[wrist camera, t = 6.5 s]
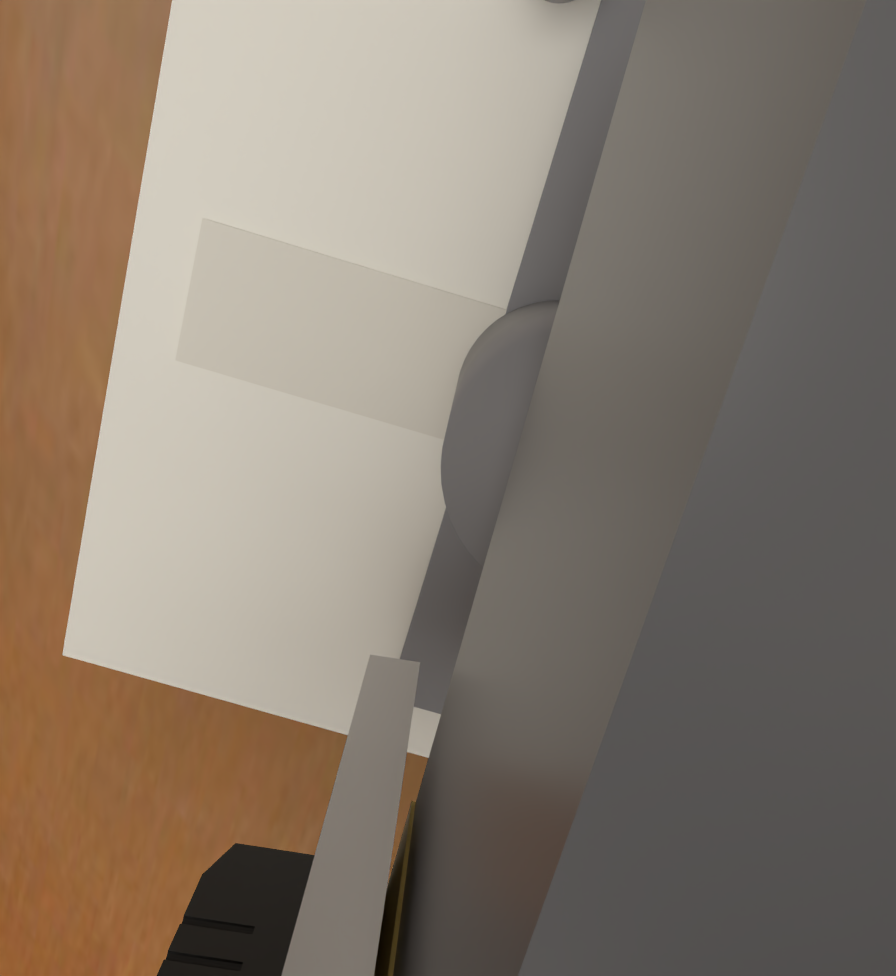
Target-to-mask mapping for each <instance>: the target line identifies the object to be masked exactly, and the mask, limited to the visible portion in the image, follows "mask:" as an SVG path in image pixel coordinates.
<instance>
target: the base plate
mask: <svg viewBox="0 0 896 976" xmlns="http://www.w3.org/2000/svg"><path fill="white" fill-rule="evenodd" d="M645 2H646V0H172V5H171V11H170V17H169V23H168V29H167V35H166V41H165V47H164V53H163V59H162V65H161V70H160V76H159V82H158V88H157V94H156V100H155V106H154V112H153V118H152V124H151V130H150V136H149V142H148V148H147V154H146V160H145V166H144V172H143V178H142V184H141V190H140V196H139V202H138V208H137V213H136V219H135V225H134V231H133V237H132V243H131V249H130V255H129V261H128V267H127V273H126V279H125V285H124V291H123V297H122V303H121V309H120V315H119V321H118V327H117V333H116V339H115V345H114V350H113V356H112V362H111V368H110V374H109V380H108V386H107V392H106V398H105V404H104V410H103V416H102V422H101V428H100V434H99V440H98V446H97V452H96V458H95V464H94V470H93V476H92V482H91V487H90V493H89V499H88V505H87V511H86V517H85V523H84V529H83V535H82V541H81V547H80V553H79V559H78V565H77V571H76V577H75V583H74V589H73V595H72V601H71V607H70V613H69V619H68V625H67V630H66V636H65V642H64V648H63V654H62V655H64V656H68V657H71V658H75V659H78V660H82V661H85V662H89V663H93V664H96V665H100V666H103V667H107V668H110V669H114V670H117V671H121V672H125V673H128V674H132V675H135V676H139V677H142V678H146V679H149V680H153V681H157V682H160V683H164V684H167V685H171V686H174V687H178V688H182V689H185V690H189V691H192V692H196V693H199V694H203V695H206V696H210V697H214V698H217V699H221V700H224V701H228V702H231V703H235V704H238V705H242V706H246V707H249V708H253V709H256V710H260V711H263V712H267V713H270V714H274V715H278V716H281V717H285V718H288V719H292V720H295V721H299V722H303V723H306V724H310V725H313V726H317V727H320V728H324V729H327V730H331V731H335V732H338V733H342V734H345V735H348V733H349V729H350V726H351V722H352V718H353V715H354V711H355V708H356V704H357V700H358V697H359V693H360V689H361V686H362V682H363V679H364V675H365V671H366V668H367V664H368V661H369V657H370V655H377V656H383V657H390V658H396V659H402V660H409V661H415V662H420V667H419V673H418V680H417V687H416V694H415V701H414V707H413V714H412V721H411V728H410V734H409V741H408V748H407V752H409V753H413V754H416V755H420V756H424V757H427V758H429V755H430V751H431V748H432V744H433V741H434V737H435V734H436V730H437V727H438V724H439V720H440V717H441V713H442V710H443V706H444V703H445V699H446V696H447V692H448V689H449V685H450V682H451V678H452V675H453V671H454V668H455V664H456V661H457V657H458V654H459V650H460V647H461V643H462V640H463V636H464V633H465V629H466V626H467V622H468V619H469V615H470V612H471V608H472V605H473V601H474V598H475V594H476V591H477V587H478V584H479V581H480V577H481V574H482V570H483V567H484V563H485V560H486V556H487V553H488V549H489V546H490V542H491V539H492V535H493V532H494V528H495V525H496V521H497V518H498V514H499V511H500V507H501V504H502V500H503V497H504V493H505V490H506V486H507V483H508V479H509V476H510V472H511V469H512V465H513V462H514V458H515V455H516V451H517V448H518V444H519V441H520V438H521V434H522V431H523V427H524V424H525V420H526V417H527V413H528V410H529V406H530V403H531V399H532V396H533V392H534V389H535V385H536V382H537V378H538V375H539V371H540V368H541V364H542V361H543V357H544V354H545V350H546V347H547V343H548V340H549V336H550V333H551V329H552V326H553V322H554V319H555V315H556V312H557V308H558V305H559V302H560V298H561V295H562V291H563V288H564V284H565V281H566V277H567V274H568V270H569V267H570V263H571V260H572V256H573V253H574V249H575V246H576V242H577V239H578V235H579V232H580V228H581V225H582V221H583V218H584V214H585V211H586V207H587V204H588V200H589V197H590V193H591V190H592V186H593V183H594V179H595V176H596V172H597V169H598V165H599V162H600V159H601V155H602V152H603V148H604V145H605V141H606V138H607V134H608V131H609V127H610V124H611V120H612V117H613V113H614V110H615V106H616V103H617V99H618V96H619V92H620V89H621V85H622V82H623V78H624V75H625V71H626V68H627V64H628V61H629V57H630V54H631V50H632V47H633V43H634V40H635V36H636V33H637V29H638V26H639V23H640V19H641V16H642V12H643V9H644V5H645Z"/></svg>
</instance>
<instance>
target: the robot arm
mask: <svg viewBox="0 0 896 976" xmlns="http://www.w3.org/2000/svg"><path fill="white" fill-rule="evenodd" d="M419 667H420V662H415V661H409V660H402V659H396V658H390V657H383V656H377V655H370V657H369V661H368V664H367V668H366V671H365V675H364V679H363V682H362V686H361V689H360V693H359V697H358V700H357V704H356V708H355V711H354V715H353V718H352V722H351V726H350V729H349V733H348V737H347V740H346V744H345V747H344V751H343V755H342V758H341V762H340V765H339V769H338V773H337V776H336V780H335V784H334V787H333V791H332V794H331V798H330V802H329V805H328V809H327V812H326V816H325V820H324V823H323V827H322V831H321V834H320V838H319V841H318V845H317V849H316V852H315V855H309V854H303V853H296V852H289V851H283V850H276V849H270V848H263V847H257V846H250V845H244V844H237V843H235V844H234V845H233V846H232V847H231V848H230V849H229V850H228V851H227V852H226V853H225V854H224V855H223V856H222V857H221V858H219V859H218V860H217V861H216V862H215V863H214V864H213V865H212V866H211V867H210V868H209V869H208V870H207V871H206V872H205V873H203V874H202V876H201V879H200V881H199V883H198V885H197V888H196V890H195V892H194V894H193V896H192V899H191V901H190V903H189V905H188V908H187V910H186V912H185V914H184V918H183V922H182V924H180V925H179V928H178V930H177V932H176V934H175V936H174V939H173V941H172V943H171V945H170V948H169V950H168V954H167V958H166V960H164V961H163V963H162V965H161V968H160V970H159V972H158V974H157V976H374V972H375V965H376V958H377V951H378V945H379V938H380V931H381V924H382V917H383V911H384V904H385V897H386V890H387V884H388V877H389V870H390V863H391V856H392V850H393V843H394V836H395V829H396V823H397V816H398V809H399V802H400V795H401V789H402V782H403V775H404V768H405V762H406V755H407V748H408V741H409V734H410V728H411V721H412V714H413V707H414V701H415V694H416V687H417V680H418V673H419Z"/></svg>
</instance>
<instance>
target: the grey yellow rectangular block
mask: <svg viewBox="0 0 896 976" xmlns="http://www.w3.org/2000/svg"><path fill="white" fill-rule="evenodd" d="M374 976H896V0H646V2H645V5H644V9H643V12H642V16H641V19H640V23H639V26H638V29H637V33H636V36H635V40H634V43H633V47H632V50H631V54H630V57H629V61H628V64H627V68H626V71H625V75H624V78H623V82H622V85H621V89H620V92H619V96H618V99H617V103H616V106H615V110H614V113H613V117H612V120H611V124H610V127H609V131H608V134H607V138H606V141H605V145H604V148H603V152H602V155H601V159H600V162H599V165H598V169H597V172H596V176H595V179H594V183H593V186H592V190H591V193H590V197H589V200H588V204H587V207H586V211H585V214H584V218H583V221H582V225H581V228H580V232H579V235H578V239H577V242H576V246H575V249H574V253H573V256H572V260H571V263H570V267H569V270H568V274H567V277H566V281H565V284H564V288H563V291H562V295H561V298H560V302H559V305H558V308H557V312H556V315H555V319H554V322H553V326H552V329H551V333H550V336H549V340H548V343H547V347H546V350H545V354H544V357H543V361H542V364H541V368H540V371H539V375H538V378H537V382H536V385H535V389H534V392H533V396H532V399H531V403H530V406H529V410H528V413H527V417H526V420H525V424H524V427H523V431H522V434H521V438H520V441H519V444H518V448H517V451H516V455H515V458H514V462H513V465H512V469H511V472H510V476H509V479H508V483H507V486H506V490H505V493H504V497H503V500H502V504H501V507H500V511H499V514H498V518H497V521H496V525H495V528H494V532H493V535H492V539H491V542H490V546H489V549H488V553H487V556H486V560H485V563H484V567H483V570H482V574H481V577H480V581H479V584H478V587H477V591H476V594H475V598H474V601H473V605H472V608H471V612H470V615H469V619H468V622H467V626H466V629H465V633H464V636H463V640H462V643H461V647H460V650H459V654H458V657H457V661H456V664H455V668H454V671H453V675H452V678H451V682H450V685H449V689H448V692H447V696H446V699H445V703H444V706H443V710H442V713H441V717H440V720H439V724H438V727H437V730H436V734H435V737H434V741H433V744H432V748H431V751H430V755H429V758H428V762H427V765H426V769H425V772H424V776H423V779H422V783H421V786H420V790H419V793H418V797H417V800H416V802H413V801H412V802H411V806H410V809H409V813H408V816H407V820H406V823H405V827H404V830H403V834H402V837H401V841H400V844H399V848H398V851H397V855H396V858H395V862H394V865H393V869H392V872H391V876H390V879H389V883H388V886H387V890H386V897H385V904H384V911H383V917H382V924H381V931H380V938H379V945H378V951H377V958H376V965H375V972H374Z"/></svg>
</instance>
